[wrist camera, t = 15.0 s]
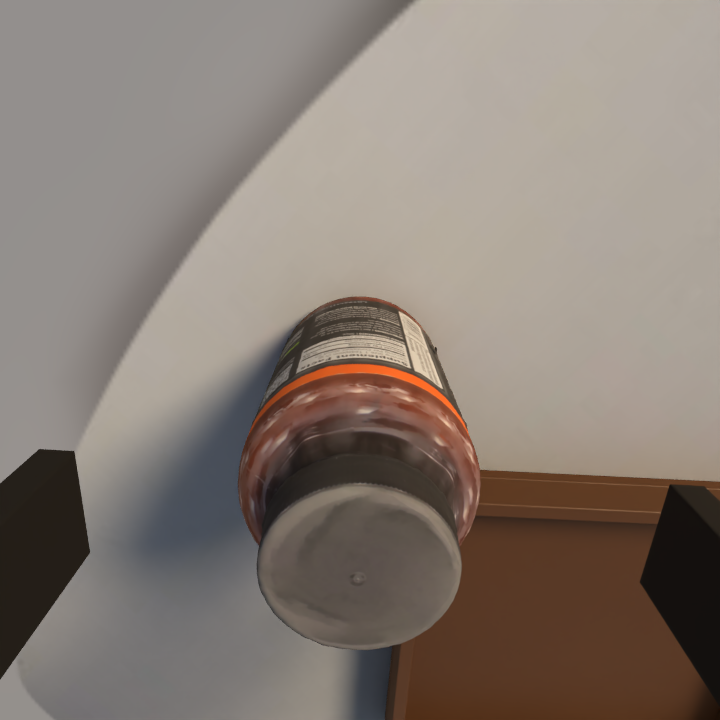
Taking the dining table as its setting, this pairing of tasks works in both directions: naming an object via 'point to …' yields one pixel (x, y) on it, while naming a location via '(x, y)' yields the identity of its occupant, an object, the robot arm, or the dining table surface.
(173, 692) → the dining table surface
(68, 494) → the robot arm
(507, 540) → the walnut tray
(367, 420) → the supplement bottle
